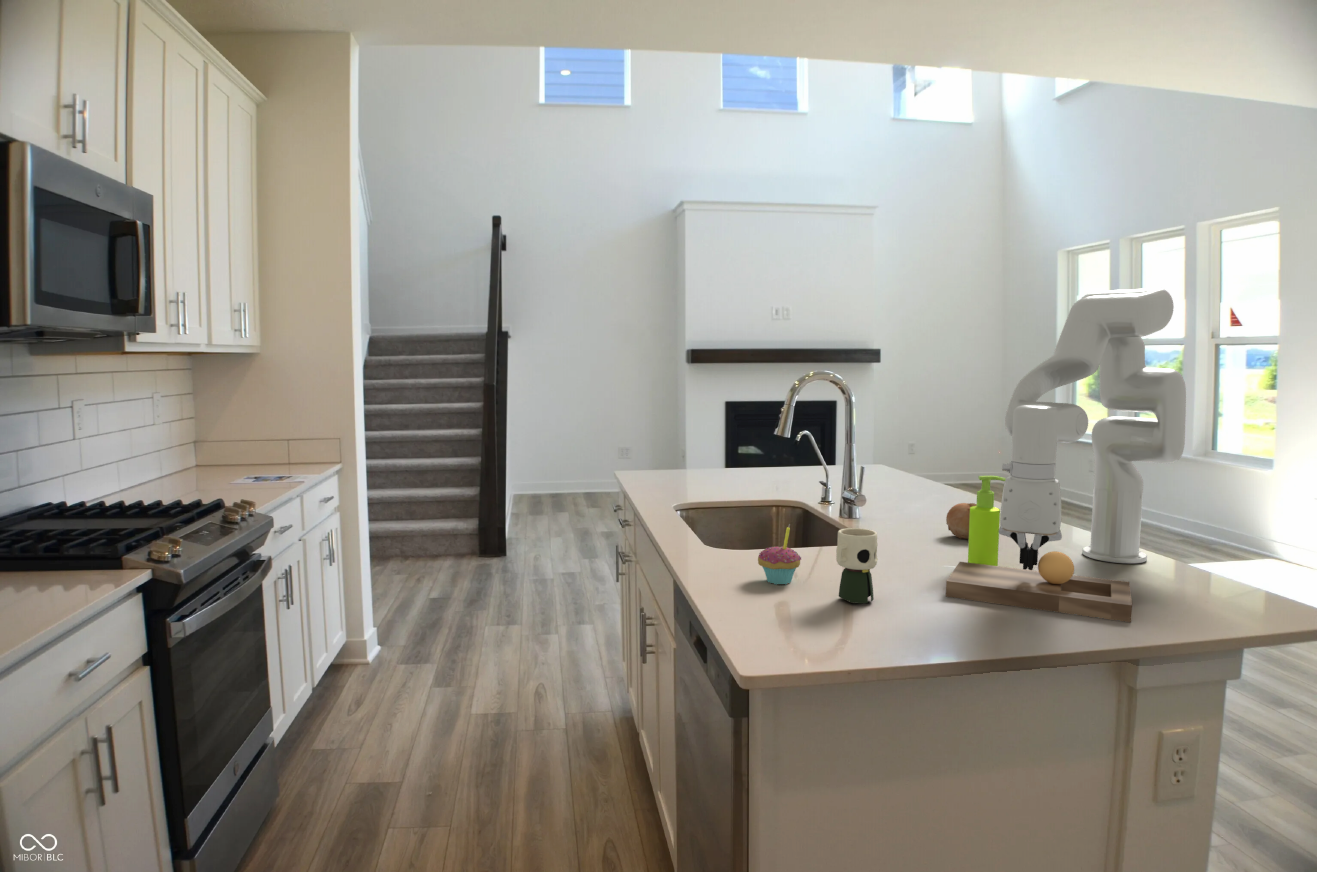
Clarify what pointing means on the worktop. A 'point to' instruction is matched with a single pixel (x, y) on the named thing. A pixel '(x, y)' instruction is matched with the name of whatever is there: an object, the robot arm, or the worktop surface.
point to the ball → (1056, 567)
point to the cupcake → (779, 562)
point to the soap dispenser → (984, 526)
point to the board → (1041, 591)
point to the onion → (959, 520)
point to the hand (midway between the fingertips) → (1028, 567)
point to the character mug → (856, 563)
